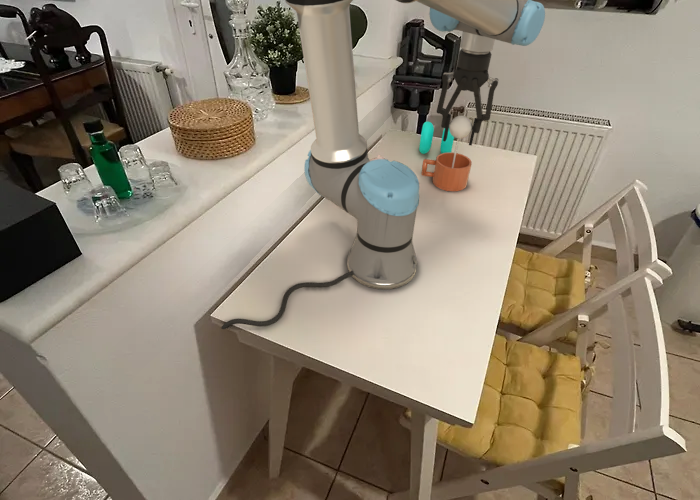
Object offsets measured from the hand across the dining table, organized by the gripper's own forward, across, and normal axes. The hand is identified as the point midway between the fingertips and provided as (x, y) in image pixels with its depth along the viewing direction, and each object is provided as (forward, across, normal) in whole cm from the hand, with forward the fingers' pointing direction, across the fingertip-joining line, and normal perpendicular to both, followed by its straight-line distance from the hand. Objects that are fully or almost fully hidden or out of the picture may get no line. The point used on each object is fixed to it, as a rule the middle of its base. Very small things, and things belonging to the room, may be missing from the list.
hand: (457, 141), depth 116 cm
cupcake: (+13, +19, +10) cm, 25 cm away
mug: (+13, +2, 0) cm, 13 cm away
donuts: (+13, +7, -16) cm, 22 cm away
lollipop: (+8, 0, 0) cm, 8 cm away
